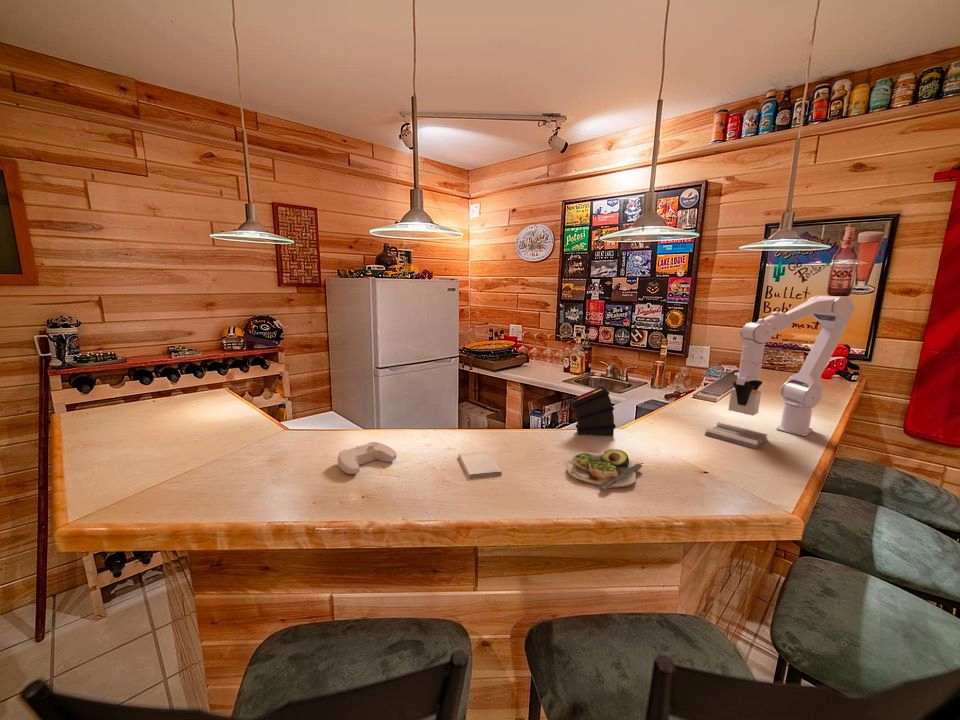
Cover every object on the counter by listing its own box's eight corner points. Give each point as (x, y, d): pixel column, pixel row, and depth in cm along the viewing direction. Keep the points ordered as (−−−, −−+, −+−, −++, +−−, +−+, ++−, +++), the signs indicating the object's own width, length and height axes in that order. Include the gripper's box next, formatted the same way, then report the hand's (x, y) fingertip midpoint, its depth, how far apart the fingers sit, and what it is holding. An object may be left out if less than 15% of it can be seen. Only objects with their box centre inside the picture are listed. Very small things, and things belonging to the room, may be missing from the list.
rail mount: (718, 427, 140) (719, 421, 139) (767, 439, 129) (768, 433, 129) (704, 434, 133) (705, 428, 132) (755, 448, 122) (756, 442, 122)
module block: (733, 407, 138) (736, 385, 137) (757, 412, 133) (761, 390, 132) (728, 410, 136) (731, 388, 134) (752, 415, 130) (756, 392, 129)
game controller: (350, 468, 99) (330, 448, 105) (349, 484, 100) (329, 463, 106) (401, 451, 109) (380, 433, 115) (399, 465, 110) (378, 447, 117)
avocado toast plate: (639, 502, 92) (641, 483, 92) (558, 486, 99) (559, 468, 98) (641, 466, 110) (643, 450, 109) (573, 455, 117) (574, 439, 116)
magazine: (625, 431, 129) (607, 388, 127) (584, 448, 131) (566, 405, 128) (621, 427, 133) (604, 385, 130) (582, 443, 134) (564, 401, 132)
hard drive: (501, 471, 103) (488, 450, 115) (469, 474, 101) (458, 453, 113) (501, 477, 103) (487, 456, 115) (469, 481, 101) (458, 459, 113)
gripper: (745, 357, 139) (739, 396, 141) (728, 361, 129) (722, 404, 132) (769, 360, 134) (763, 401, 136) (754, 366, 124) (747, 410, 127)
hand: (744, 403), depth 134 cm, fingers closed on module block, 4 cm apart
